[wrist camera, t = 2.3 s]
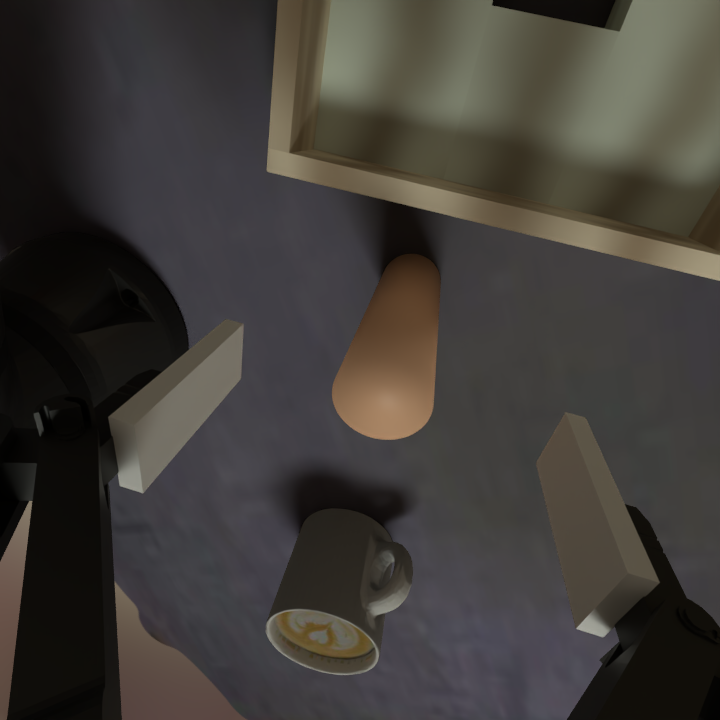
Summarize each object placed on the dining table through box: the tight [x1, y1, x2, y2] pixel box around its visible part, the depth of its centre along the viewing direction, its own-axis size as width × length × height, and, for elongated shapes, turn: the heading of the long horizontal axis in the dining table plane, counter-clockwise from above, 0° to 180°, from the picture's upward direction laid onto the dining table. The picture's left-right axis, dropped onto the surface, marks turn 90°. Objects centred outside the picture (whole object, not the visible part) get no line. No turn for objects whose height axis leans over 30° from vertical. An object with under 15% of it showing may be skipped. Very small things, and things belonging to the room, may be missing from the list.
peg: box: [332, 254, 441, 440], centre depth 22 cm, size 4×4×14 cm
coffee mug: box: [266, 508, 413, 675], centre depth 38 cm, size 13×10×10 cm
